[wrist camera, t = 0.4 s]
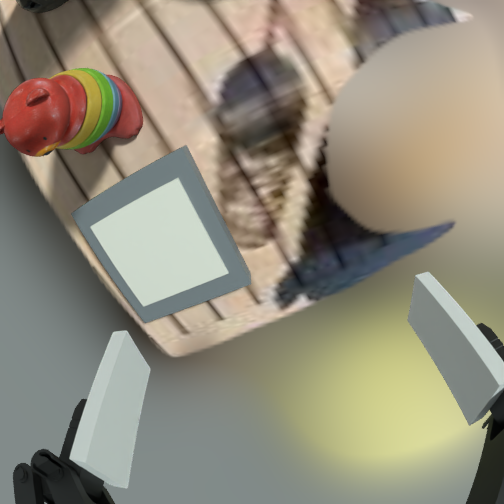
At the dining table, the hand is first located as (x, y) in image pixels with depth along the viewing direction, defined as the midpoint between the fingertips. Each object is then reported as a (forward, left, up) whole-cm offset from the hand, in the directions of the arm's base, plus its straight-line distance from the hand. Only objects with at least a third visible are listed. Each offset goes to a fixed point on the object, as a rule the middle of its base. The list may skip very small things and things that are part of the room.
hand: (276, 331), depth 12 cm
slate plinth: (+2, -14, -27) cm, 31 cm away
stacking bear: (-18, -13, -27) cm, 35 cm away
